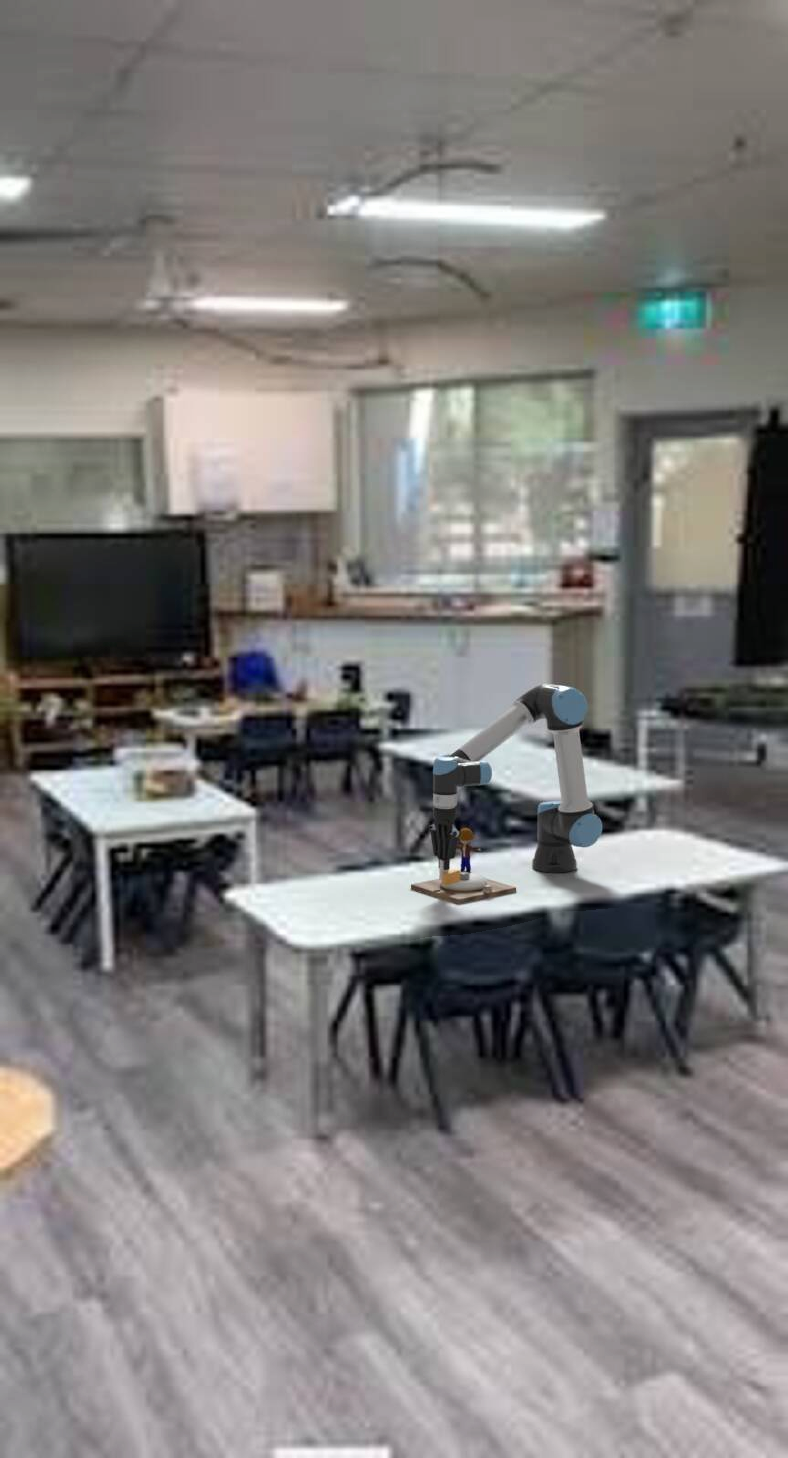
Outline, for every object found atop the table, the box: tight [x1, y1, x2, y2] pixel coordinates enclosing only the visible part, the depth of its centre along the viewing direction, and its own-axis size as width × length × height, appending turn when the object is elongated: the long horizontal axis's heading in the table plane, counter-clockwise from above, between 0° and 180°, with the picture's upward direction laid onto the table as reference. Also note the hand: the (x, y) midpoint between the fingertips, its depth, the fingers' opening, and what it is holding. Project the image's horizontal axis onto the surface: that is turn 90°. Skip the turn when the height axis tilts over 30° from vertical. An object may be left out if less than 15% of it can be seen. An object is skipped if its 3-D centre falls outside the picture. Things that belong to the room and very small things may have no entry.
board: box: [410, 878, 517, 905], centre depth 462 cm, size 24×24×4 cm
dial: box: [440, 869, 488, 891], centre depth 461 cm, size 18×15×6 cm
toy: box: [457, 827, 482, 873], centre depth 486 cm, size 11×6×15 cm, turn 62°
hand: (443, 879), depth 457 cm, fingers closed
